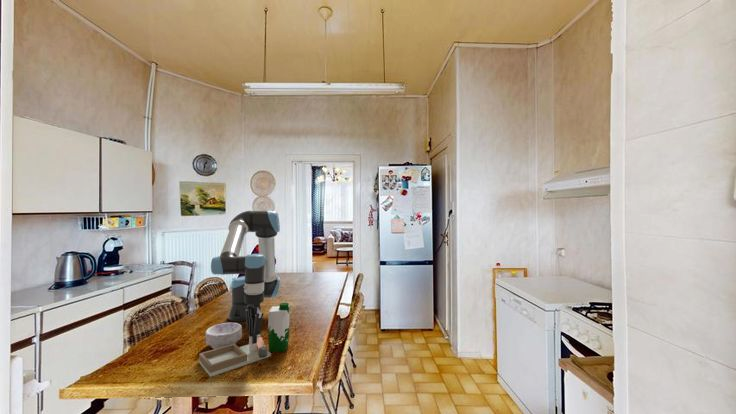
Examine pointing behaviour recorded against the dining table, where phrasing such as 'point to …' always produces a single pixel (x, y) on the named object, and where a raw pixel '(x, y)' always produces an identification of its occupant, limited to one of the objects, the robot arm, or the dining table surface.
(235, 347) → the seat board
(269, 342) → the soya milk
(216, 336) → the paper bowls
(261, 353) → the leg bar
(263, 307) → the dining table surface
